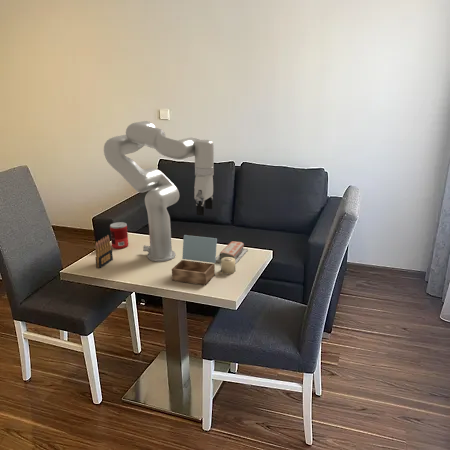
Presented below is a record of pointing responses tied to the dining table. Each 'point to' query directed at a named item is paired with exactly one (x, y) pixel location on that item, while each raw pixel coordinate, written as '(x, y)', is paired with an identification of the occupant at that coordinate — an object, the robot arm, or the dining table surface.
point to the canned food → (119, 235)
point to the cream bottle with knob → (228, 265)
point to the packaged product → (232, 251)
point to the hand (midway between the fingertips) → (204, 211)
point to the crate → (193, 272)
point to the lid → (199, 248)
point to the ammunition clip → (103, 252)
